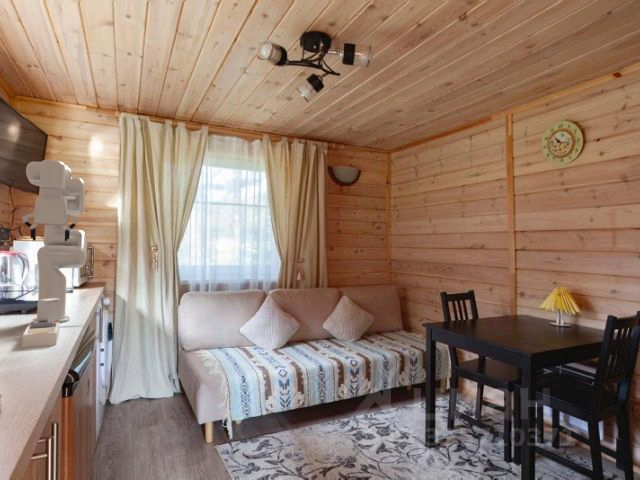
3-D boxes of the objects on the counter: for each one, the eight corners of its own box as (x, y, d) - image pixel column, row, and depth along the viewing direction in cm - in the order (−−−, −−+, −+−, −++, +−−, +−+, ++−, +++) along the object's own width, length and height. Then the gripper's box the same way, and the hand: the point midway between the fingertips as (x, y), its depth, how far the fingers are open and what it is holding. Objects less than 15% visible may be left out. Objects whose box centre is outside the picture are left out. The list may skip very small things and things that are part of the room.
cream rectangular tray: (28, 335, 140) (28, 323, 140) (58, 333, 144) (59, 321, 145) (22, 347, 125) (22, 334, 125) (56, 344, 130) (56, 331, 130)
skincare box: (45, 333, 144) (46, 300, 144) (35, 332, 145) (36, 299, 145) (59, 329, 150) (60, 298, 150) (50, 329, 151) (51, 297, 151)
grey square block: (34, 333, 139) (34, 319, 139) (52, 331, 142) (53, 317, 142) (32, 336, 135) (33, 321, 135) (51, 335, 137) (52, 320, 137)
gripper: (79, 197, 152) (78, 241, 152) (23, 193, 143) (22, 240, 143) (79, 195, 146) (77, 241, 146) (21, 191, 137) (19, 240, 137)
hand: (50, 240), depth 144 cm, fingers open, 9 cm apart
